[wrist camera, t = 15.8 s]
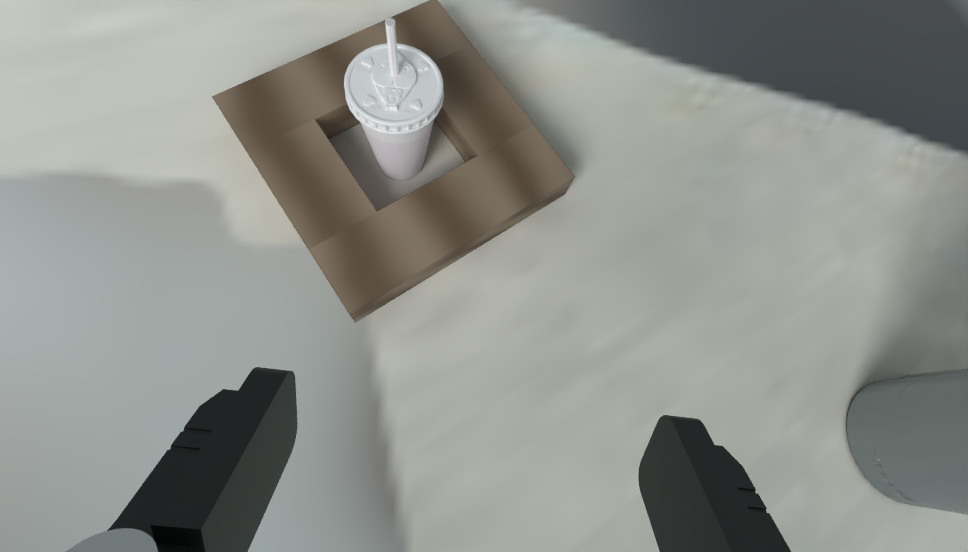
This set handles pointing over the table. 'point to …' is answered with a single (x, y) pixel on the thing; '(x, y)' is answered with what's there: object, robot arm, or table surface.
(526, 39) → the table surface
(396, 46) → the smoothie
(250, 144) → the caddy
